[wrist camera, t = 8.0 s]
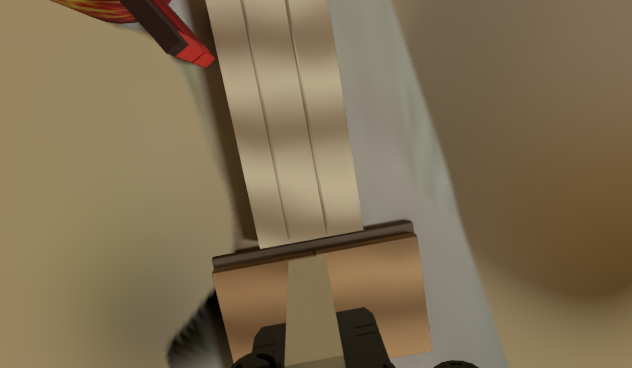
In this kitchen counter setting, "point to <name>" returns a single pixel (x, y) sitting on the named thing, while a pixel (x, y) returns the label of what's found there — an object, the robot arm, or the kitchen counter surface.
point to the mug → (149, 24)
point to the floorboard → (346, 284)
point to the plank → (287, 117)
